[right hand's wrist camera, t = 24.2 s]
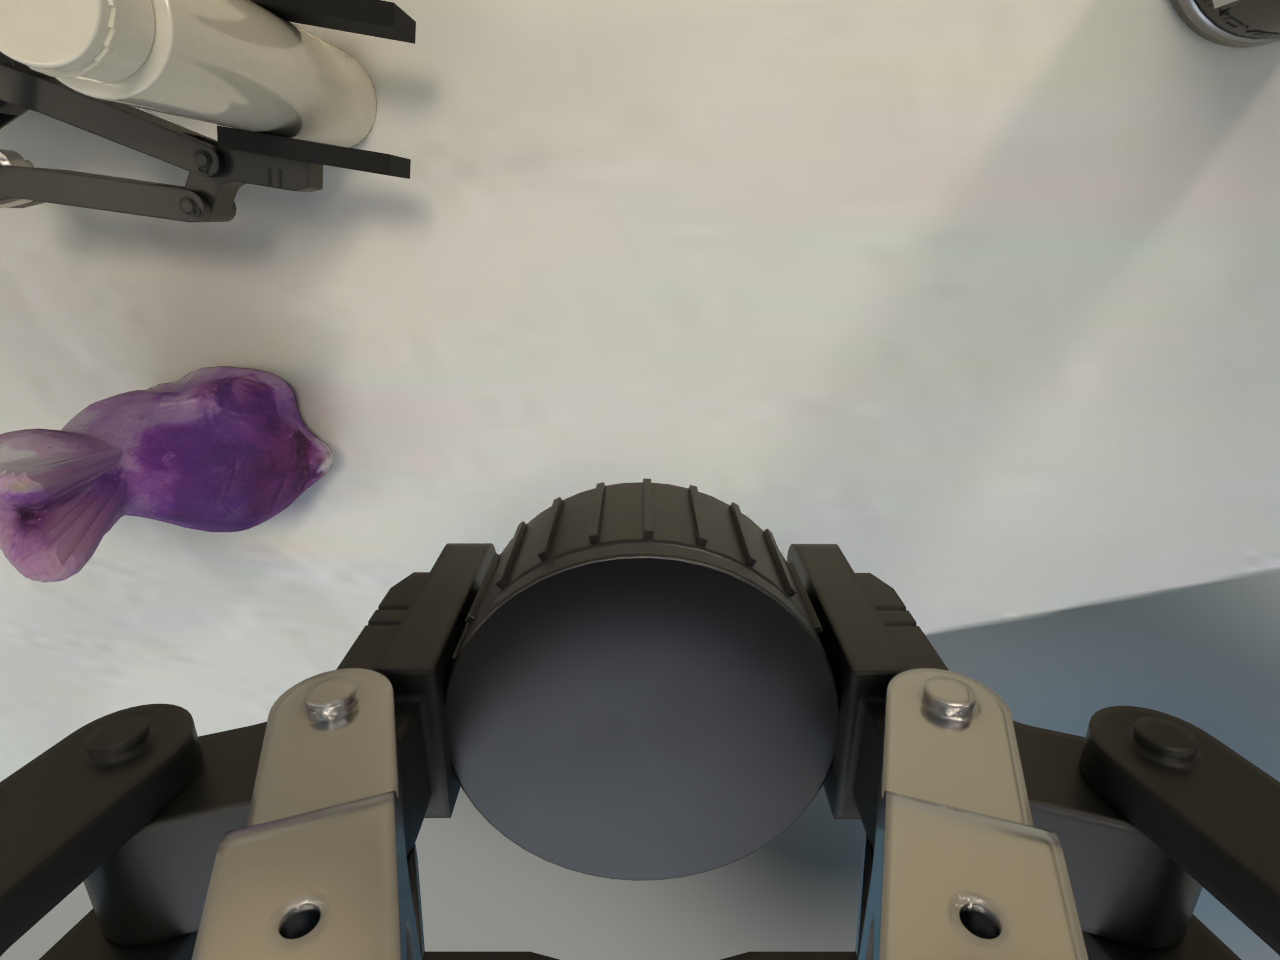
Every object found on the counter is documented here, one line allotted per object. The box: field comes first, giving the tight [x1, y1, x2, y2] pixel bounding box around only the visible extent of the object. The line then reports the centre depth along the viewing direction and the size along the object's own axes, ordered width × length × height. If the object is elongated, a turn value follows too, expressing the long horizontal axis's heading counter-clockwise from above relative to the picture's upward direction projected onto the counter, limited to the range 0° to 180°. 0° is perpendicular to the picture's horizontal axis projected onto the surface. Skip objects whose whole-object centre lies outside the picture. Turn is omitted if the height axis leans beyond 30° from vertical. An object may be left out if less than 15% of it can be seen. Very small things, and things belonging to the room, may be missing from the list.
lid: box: [444, 479, 840, 880], centre depth 10 cm, size 5×5×2 cm
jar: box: [0, 0, 376, 148], centre depth 25 cm, size 4×4×18 cm
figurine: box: [0, 367, 333, 582], centre depth 32 cm, size 9×10×15 cm
